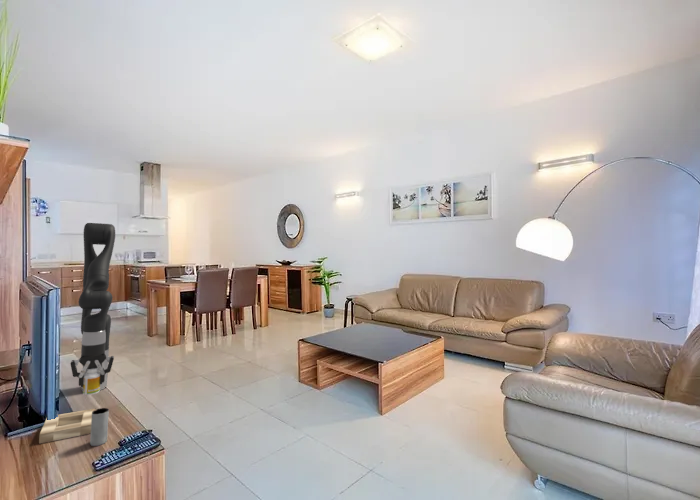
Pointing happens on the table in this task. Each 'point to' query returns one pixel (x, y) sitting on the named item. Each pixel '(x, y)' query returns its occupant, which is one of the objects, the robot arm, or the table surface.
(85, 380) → the supplement bottle
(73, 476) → the table surface
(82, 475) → the table surface
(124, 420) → the table surface
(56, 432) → the holder
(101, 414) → the planter
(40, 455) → the table surface
